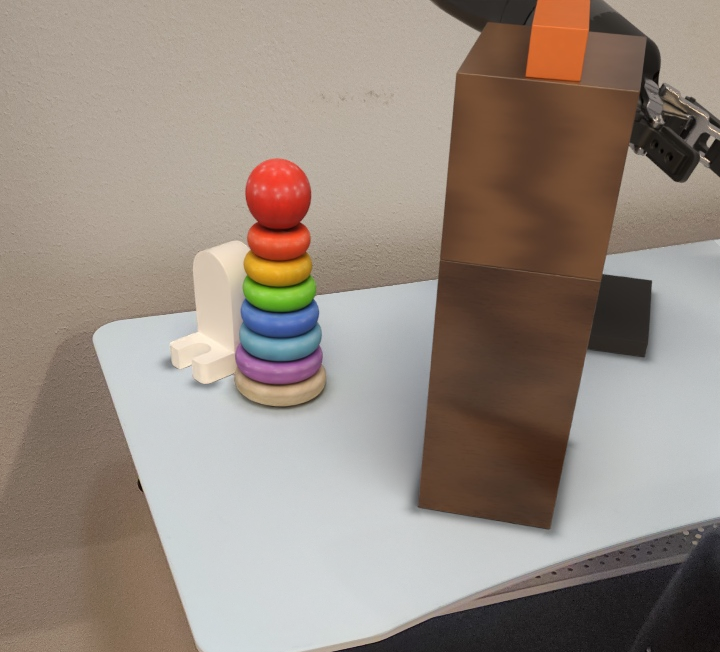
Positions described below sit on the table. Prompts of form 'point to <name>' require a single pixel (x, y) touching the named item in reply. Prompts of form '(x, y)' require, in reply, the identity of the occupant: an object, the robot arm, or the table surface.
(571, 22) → the orange bar
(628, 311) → the rubber mat
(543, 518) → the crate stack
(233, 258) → the cable organizer
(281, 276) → the stacking toy
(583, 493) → the table surface
